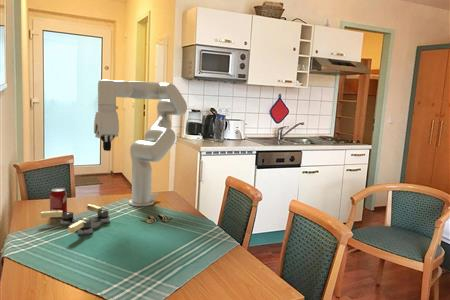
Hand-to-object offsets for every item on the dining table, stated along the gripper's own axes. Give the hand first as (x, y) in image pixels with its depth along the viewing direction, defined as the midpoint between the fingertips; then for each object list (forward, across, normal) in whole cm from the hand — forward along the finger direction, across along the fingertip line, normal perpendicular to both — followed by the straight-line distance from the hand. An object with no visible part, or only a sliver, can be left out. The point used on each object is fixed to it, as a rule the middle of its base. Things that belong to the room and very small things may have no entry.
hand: (107, 150), depth 168 cm
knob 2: (+27, +7, +4) cm, 28 cm away
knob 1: (+27, +23, +17) cm, 39 cm away
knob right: (+27, +23, -1) cm, 35 cm away
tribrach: (+29, +13, +8) cm, 33 cm away
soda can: (+29, +17, -11) cm, 36 cm away
